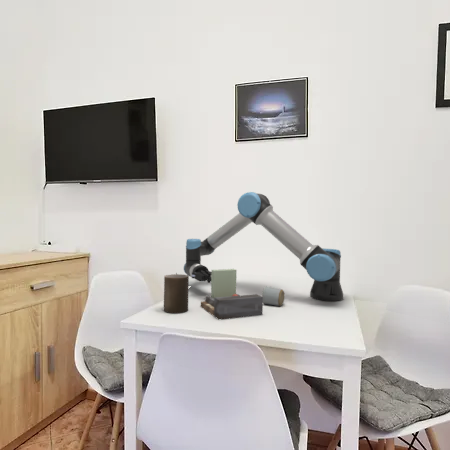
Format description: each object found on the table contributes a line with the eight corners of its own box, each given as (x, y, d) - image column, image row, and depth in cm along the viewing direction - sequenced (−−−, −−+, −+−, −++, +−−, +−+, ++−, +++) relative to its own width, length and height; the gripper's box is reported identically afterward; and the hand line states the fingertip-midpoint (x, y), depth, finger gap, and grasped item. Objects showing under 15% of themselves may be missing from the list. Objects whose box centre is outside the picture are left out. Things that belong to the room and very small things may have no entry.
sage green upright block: (211, 301, 150) (211, 269, 150) (232, 299, 154) (233, 268, 154) (213, 302, 147) (214, 270, 147) (235, 300, 151) (236, 269, 151)
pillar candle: (186, 313, 138) (187, 274, 138) (161, 313, 138) (162, 274, 138) (189, 307, 148) (190, 271, 148) (165, 307, 148) (166, 270, 148)
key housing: (200, 306, 150) (200, 288, 150) (239, 303, 157) (240, 285, 157) (219, 319, 131) (219, 299, 131) (262, 315, 139) (262, 295, 138)
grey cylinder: (279, 308, 150) (280, 289, 150) (261, 305, 154) (261, 287, 153) (287, 303, 159) (287, 285, 159) (269, 300, 163) (270, 283, 163)
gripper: (211, 279, 179) (231, 288, 157) (186, 280, 174) (203, 290, 152) (211, 264, 179) (231, 271, 157) (186, 265, 173) (203, 272, 152)
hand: (217, 280), depth 154 cm, fingers closed
